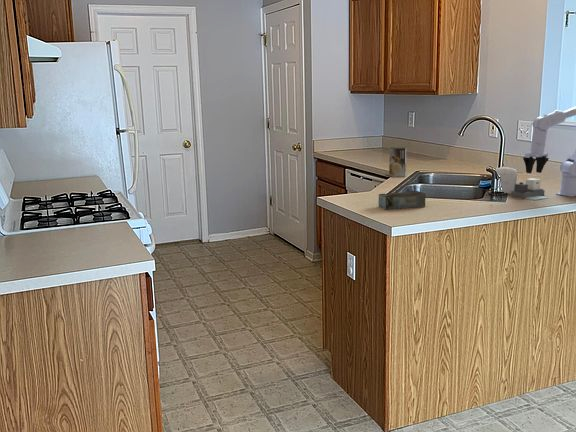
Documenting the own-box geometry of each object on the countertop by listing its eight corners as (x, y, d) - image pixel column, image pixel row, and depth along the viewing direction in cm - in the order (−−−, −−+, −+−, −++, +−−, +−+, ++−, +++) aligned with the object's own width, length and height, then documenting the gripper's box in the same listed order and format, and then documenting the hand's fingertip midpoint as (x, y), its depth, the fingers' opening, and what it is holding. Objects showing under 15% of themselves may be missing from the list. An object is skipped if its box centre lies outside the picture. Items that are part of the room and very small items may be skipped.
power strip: (531, 193, 272) (532, 178, 271) (544, 195, 266) (545, 181, 265) (511, 196, 266) (512, 181, 264) (523, 198, 260) (524, 183, 258)
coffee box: (406, 175, 328) (407, 147, 324) (405, 177, 322) (406, 148, 318) (390, 174, 330) (390, 147, 327) (388, 176, 324) (389, 148, 321)
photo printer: (516, 193, 273) (518, 167, 270) (514, 194, 269) (516, 168, 266) (493, 191, 278) (495, 166, 275) (492, 192, 274) (493, 167, 271)
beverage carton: (377, 207, 248) (377, 192, 246) (417, 204, 253) (418, 189, 251) (385, 210, 240) (385, 195, 239) (426, 207, 245) (427, 192, 244)
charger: (531, 188, 270) (532, 178, 269) (540, 190, 266) (540, 179, 265) (525, 189, 268) (526, 179, 267) (533, 191, 264) (534, 180, 263)
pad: (538, 196, 264) (538, 195, 264) (547, 198, 260) (547, 197, 260) (525, 198, 260) (525, 197, 260) (534, 200, 256) (534, 199, 256)
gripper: (540, 142, 269) (535, 170, 272) (520, 142, 261) (516, 171, 264) (553, 144, 263) (549, 173, 266) (534, 144, 255) (529, 174, 258)
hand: (533, 172), depth 265 cm, fingers open, 7 cm apart
